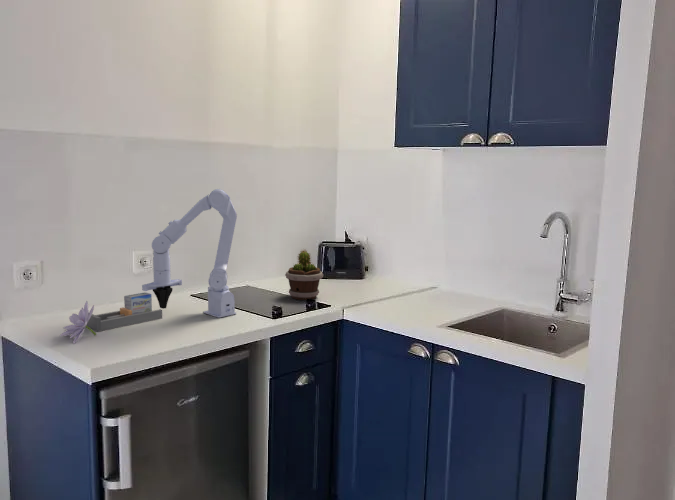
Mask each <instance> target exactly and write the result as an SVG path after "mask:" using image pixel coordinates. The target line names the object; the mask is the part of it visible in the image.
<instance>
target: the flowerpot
mask: <svg viewBox="0 0 675 500" xmlns="http://www.w3.org/2000/svg"><path fill="white" fill-rule="evenodd" d="M311 257H312V256H311V253H308V251H307V249H300V251H299V253H298V254H297V256H296V260H297V261H296V263H293V266H291V267H290V268H289V269H288V270H287V271H286V272H285V274H284V277H285V278H286V279H287V280H288V284H289V289H288V293H289V295H290V297H291V298H292V299H295V300H299V301H303V300H305V301H308V300H307V299H309V300H310V299H311V300H315V299H316V298H317V296H319V294H320V290H319V285H320V280H322V279H323V277H324V274H323V272H322V271H321V269H320V267H316V265H315V263H313V262H312V259H311Z"/></svg>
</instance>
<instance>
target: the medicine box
mask: <svg viewBox="0 0 675 500" xmlns="http://www.w3.org/2000/svg"><path fill="white" fill-rule="evenodd" d="M123 298H124V302H123V303H124V308H126V309H129V310H132V315H133V314H138V313H144V312H149V311H153V304H152V303H153V300H152V299H153V298H152V294H151V293H149V292H138V293H134V294H127V295H124V296H123Z"/></svg>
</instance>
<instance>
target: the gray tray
mask: <svg viewBox="0 0 675 500" xmlns="http://www.w3.org/2000/svg"><path fill="white" fill-rule="evenodd" d="M116 315H120V310H115V311H111V312H105V313H100V314H93V313H92V315H91V317H90V319H89V321H88V322H87V325H86V326H88V327H89V328H90V329H92V330H93V331H94V332H103V331H108V330H112V329H113V330H114V329H117V328H121V327H127V326H131V325H137V324H141V323H146V322H153V321H157V320H161V319H163V309H162V308H160V309H156V310H155V309H154V310H152V311H149V312H144V313H138V314H133V315H128V316H123V317H117V318H112V319H107V317H111V316H116ZM88 316H89V315H88Z"/></svg>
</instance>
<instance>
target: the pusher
mask: <svg viewBox="0 0 675 500" xmlns="http://www.w3.org/2000/svg"><path fill="white" fill-rule="evenodd" d="M119 311H120V315H116V316H111V317H107V319H112V318H117V317H123V316H128V315H132V310H129V309H126V308H125V307H120V308H119Z"/></svg>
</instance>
